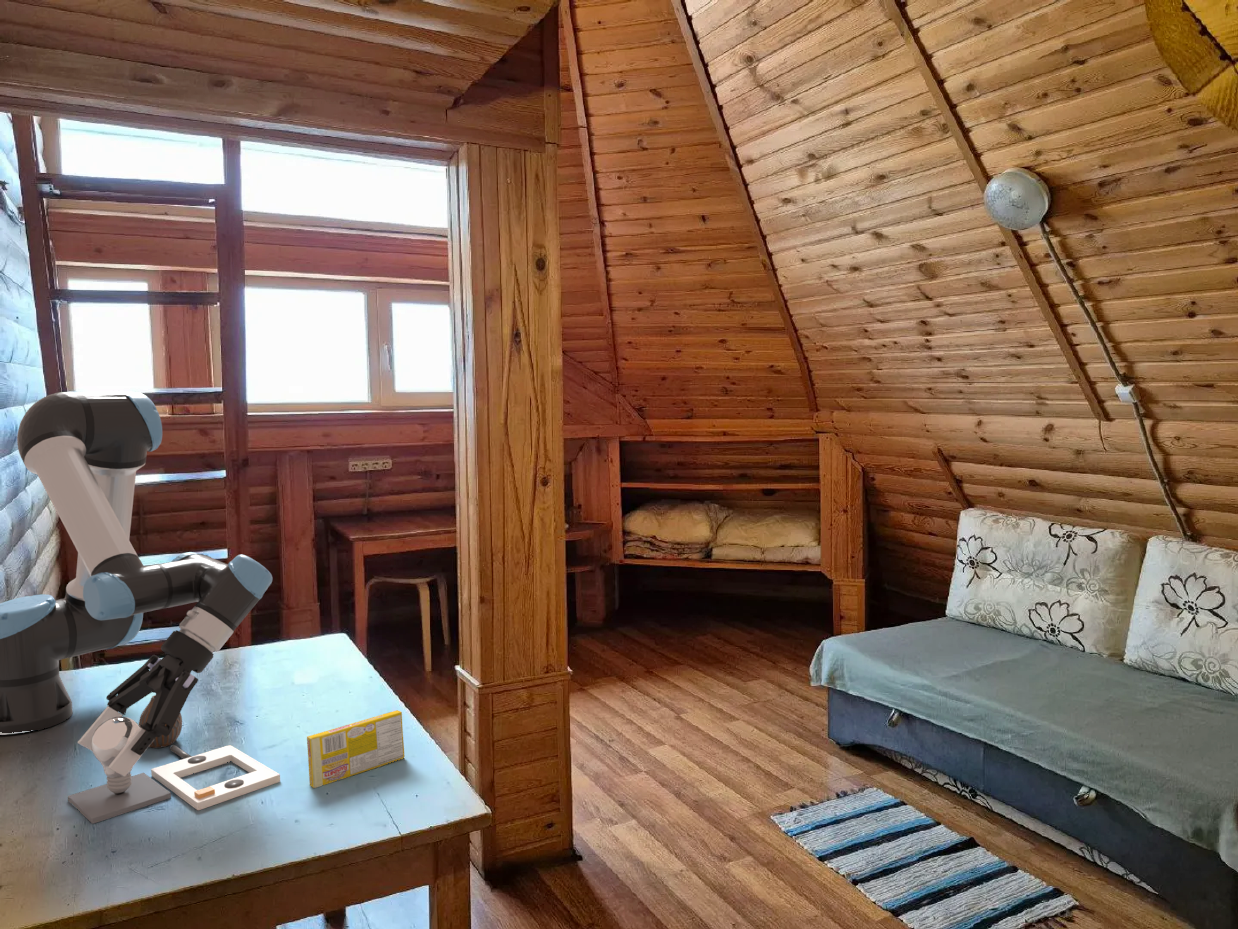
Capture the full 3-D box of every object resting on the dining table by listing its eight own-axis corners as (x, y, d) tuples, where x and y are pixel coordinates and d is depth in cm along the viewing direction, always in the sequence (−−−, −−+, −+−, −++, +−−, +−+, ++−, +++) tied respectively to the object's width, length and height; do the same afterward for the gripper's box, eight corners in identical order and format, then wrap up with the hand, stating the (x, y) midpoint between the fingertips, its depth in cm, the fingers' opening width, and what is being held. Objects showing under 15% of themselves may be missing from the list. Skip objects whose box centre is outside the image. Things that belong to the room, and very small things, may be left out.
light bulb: (91, 807, 133) (87, 729, 132) (95, 789, 139) (92, 714, 139) (144, 797, 136) (140, 721, 135) (146, 780, 142) (142, 707, 142)
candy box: (399, 755, 153) (397, 709, 153) (405, 759, 152) (403, 712, 151) (308, 785, 142) (306, 735, 142) (313, 789, 141) (311, 738, 140)
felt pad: (68, 801, 137) (67, 796, 137) (143, 777, 145) (143, 772, 145) (92, 824, 130) (92, 818, 130) (171, 797, 138) (170, 792, 138)
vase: (165, 752, 155) (162, 704, 154) (130, 749, 157) (128, 701, 156) (191, 737, 162) (189, 690, 161) (158, 734, 163) (155, 688, 162)
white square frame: (133, 762, 151) (132, 752, 151) (210, 739, 161) (210, 729, 161) (198, 810, 134) (197, 798, 134) (280, 781, 143) (279, 770, 143)
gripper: (148, 615, 151) (53, 726, 141) (212, 643, 134) (109, 771, 125) (182, 639, 156) (92, 748, 146) (248, 668, 139) (151, 794, 129)
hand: (100, 759), depth 135 cm, fingers open, 13 cm apart
